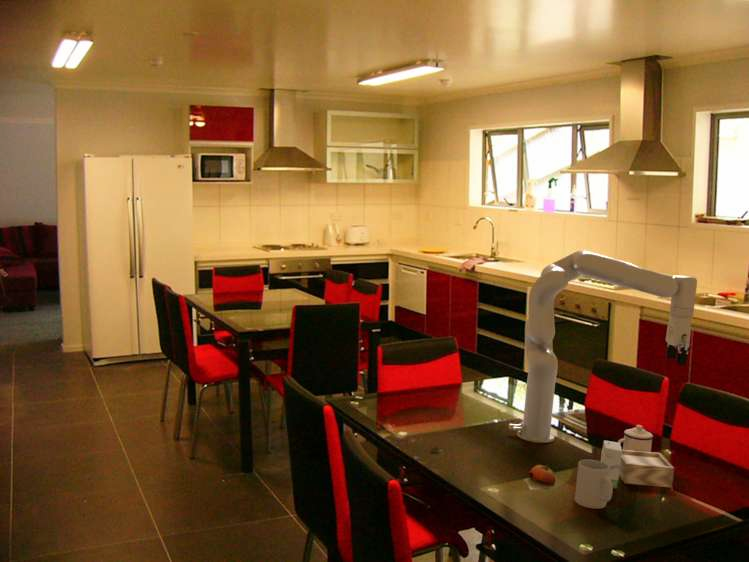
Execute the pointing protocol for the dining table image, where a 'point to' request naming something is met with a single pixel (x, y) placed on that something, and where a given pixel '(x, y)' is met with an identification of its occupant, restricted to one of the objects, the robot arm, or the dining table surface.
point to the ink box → (612, 459)
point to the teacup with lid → (637, 439)
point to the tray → (645, 469)
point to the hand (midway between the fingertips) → (675, 361)
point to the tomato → (542, 474)
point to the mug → (593, 484)
